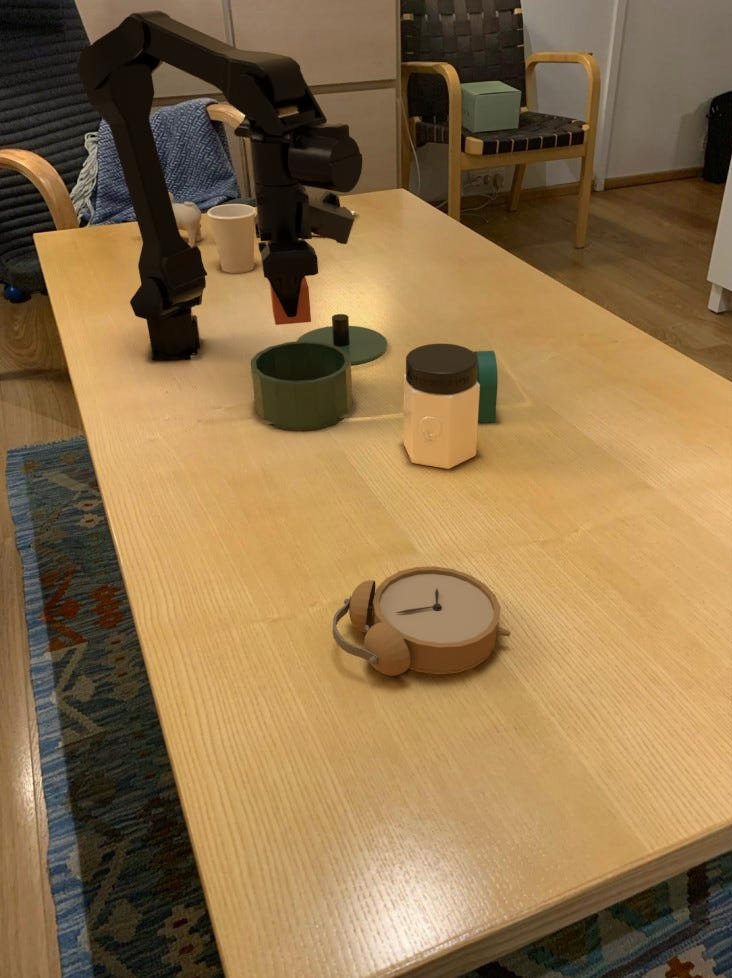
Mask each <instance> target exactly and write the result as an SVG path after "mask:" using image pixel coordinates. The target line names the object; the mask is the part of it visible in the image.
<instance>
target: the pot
mask: <svg viewBox="0 0 732 978" xmlns="http://www.w3.org/2000/svg"><path fill="white" fill-rule="evenodd" d="M250 368H251V369H250V370H251V380H252V387H253V395H254V396H253V397H254V405H255V413H256V414H258V415H259V417H261V418H262V419H263V420H264V421H267V422H269V423H267V425H268V426H270V427H273V428H276V429H282V430H287V431H298V432H299V431H301V432H302V431H314V430H319V429H323V428H328V427H330V426H333V425H335V424H337V423H339V422H342V421H343V420H344V419H345V417H343V416H345V415H346V414H348V413H349V411H350V409H351V408H352V406H353V386H352V385H353V384H352V383H353V382H352V381H353V380H352V365H351V361H350V358H349V354H348V353H347V352H345V351H344V350H342V349H341V348H339V347H337V346H334V345H330V344H327V343H322V342H311V341H299V342H296V341H287V342H283V343H279V344H275V345H271V346H268V347H266V348H264V349H263V350H261V351H259V352H257V353H256V354H255V355H254V357H252V359H251V360H250Z"/></svg>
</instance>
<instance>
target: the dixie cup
mask: <svg viewBox="0 0 732 978" xmlns="http://www.w3.org/2000/svg"><path fill="white" fill-rule="evenodd" d="M256 214H257V209H256V208H255V207H253V206H252V205H249V204H244V203H227V204H220V205H216V206H213V207H210V208H209V209H208V210H207V212H206V215H207V216H208V217H209V222H210V226H211V230H212V234H213V238H214V241H215V242H214V243H215V246H216V250H217V254H218V258H219V262H220V265H221V270H222V271H223V272H225V273H232V274H240V273H241V274H242V273H246V272H249V271H252V270H253V269H254V268H255V223H254V217H255V216H256Z"/></svg>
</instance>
